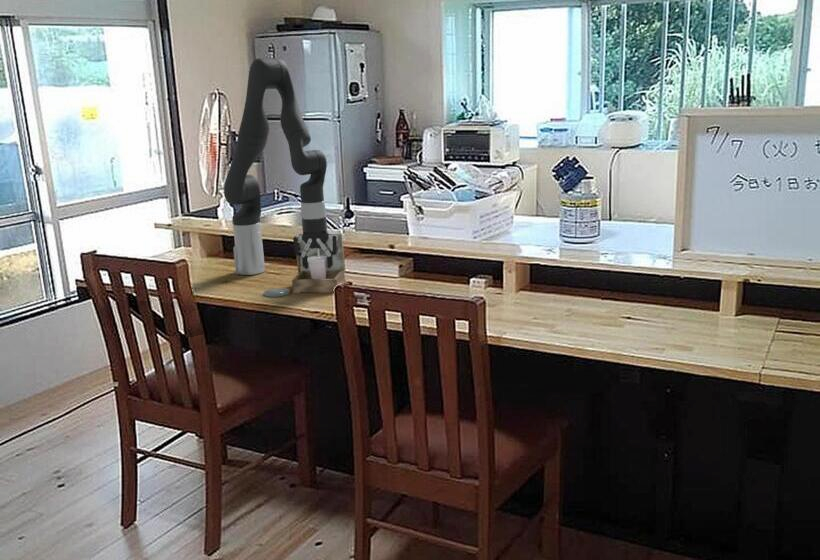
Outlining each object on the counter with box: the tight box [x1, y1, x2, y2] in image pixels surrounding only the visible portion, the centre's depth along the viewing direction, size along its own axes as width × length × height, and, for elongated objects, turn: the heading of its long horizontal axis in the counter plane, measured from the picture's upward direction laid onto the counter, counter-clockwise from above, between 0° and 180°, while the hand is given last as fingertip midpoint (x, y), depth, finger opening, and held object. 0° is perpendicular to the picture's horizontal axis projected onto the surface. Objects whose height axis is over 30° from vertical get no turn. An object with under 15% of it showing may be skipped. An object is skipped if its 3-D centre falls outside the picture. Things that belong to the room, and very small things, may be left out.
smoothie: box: [307, 248, 327, 279], centre depth 254 cm, size 6×6×14 cm
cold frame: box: [291, 232, 346, 294], centre depth 254 cm, size 15×13×16 cm
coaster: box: [263, 287, 291, 298], centre depth 251 cm, size 8×8×1 cm
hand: (318, 267), depth 254 cm, fingers open, 7 cm apart
